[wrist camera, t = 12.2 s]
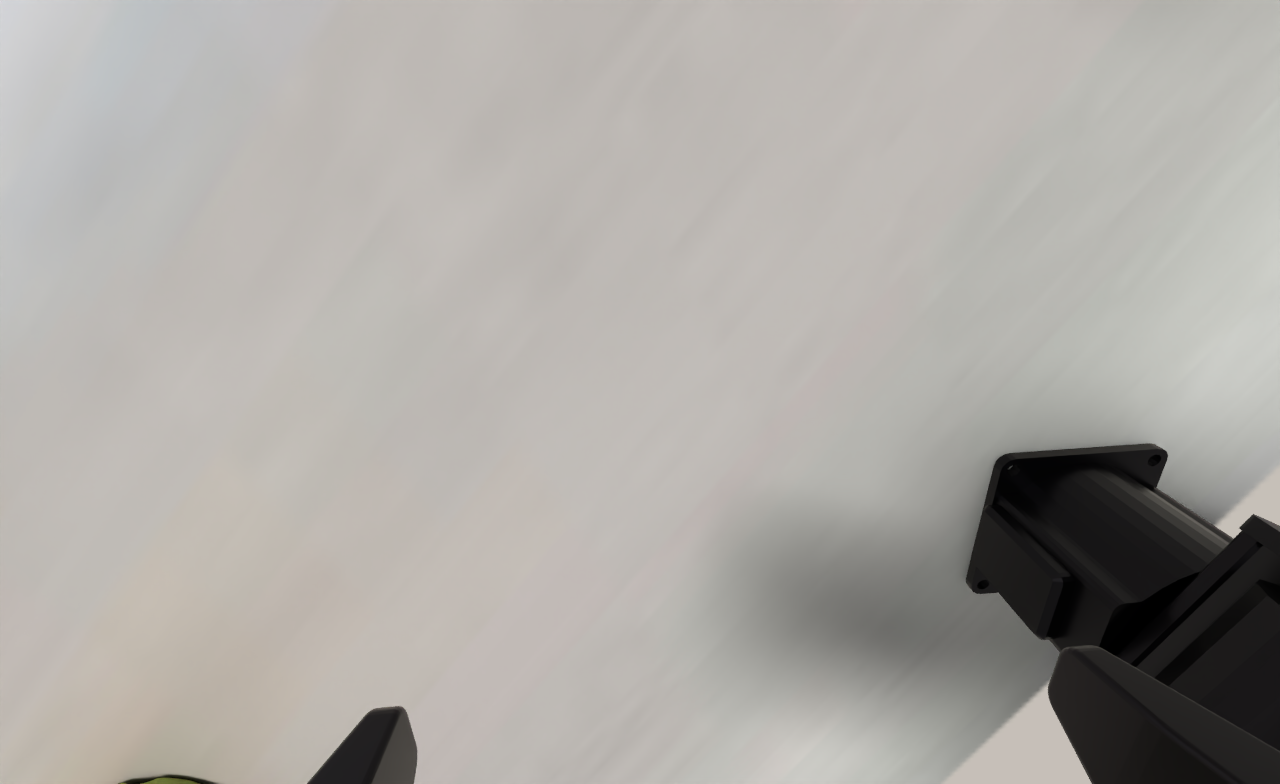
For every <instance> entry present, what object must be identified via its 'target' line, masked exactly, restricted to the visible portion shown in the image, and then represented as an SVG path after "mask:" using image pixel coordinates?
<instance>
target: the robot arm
mask: <svg viewBox="0 0 1280 784" xmlns="http://www.w3.org/2000/svg"><path fill="white" fill-rule="evenodd" d="M1167 457H1168V454H1167V452H1166V451H1165V450H1163V449H1162V448H1160V447H1158V446H1156V445H1155V444H1138V445H1123V446H1109V447H1095V448H1080V449H1066V450H1052V451H1037V452H1023V453H1009V454H1005V455H1003V456H1001V457H1000V458H999V459H998V460H997V461H996V463H995V465H994V468H993V472H992V476H991V480H990V484H989V488H988V492H987V496H986V500H985V504H984V508H983V512H982V516H981V520H980V524H979V528H978V532H977V536H976V540H975V544H974V548H973V552H972V556H971V561H970V565H969V569H968V573H967V577H966V583H967V585H968V586H969V587H970V588H971V590H972V591H973V592H975V593H977V594H985V593H997V592H999V594H1000V595H1001V596H1002V597H1003V598H1004V599H1005V601H1006V602H1007V603H1008V604H1009V605H1010V607H1011V608H1012V609H1013V610H1014V611H1015V612H1016V614H1017V615H1018V616H1019V617H1020V618H1021V619H1022V621H1023V622H1024V623H1025V624H1026V625H1027V626H1028V628H1029V629H1030V630H1031V631H1032V632H1033V633H1034V634H1035V635H1036V636H1037V637H1038V638H1039V639H1041V640H1046V639H1049V640H1050V641H1051V642H1052V643H1053V644H1054V646H1055V647H1056V648H1057V649H1058V650H1059V651H1060V652H1061V653H1060V654H1059V657H1058V660H1057V663H1056V666H1055V668H1054V671H1053V674H1052V677H1051V680H1050V683H1049V686H1048V695H1049V699H1050V703H1051V705H1052V707H1053V710H1054V711H1055V713H1056V715H1057V717H1058V719H1059V721H1060V723H1061V725H1062V726H1063V729H1064V731H1065V733H1066V734H1067V736H1068V738H1069V740H1070V742H1071V744H1072V746H1073V748H1074V749H1075V752H1076V754H1077V755H1078V758H1079V759H1080V761H1081V763H1082V765H1083V767H1084V769H1085V771H1086V773H1087V775H1088V777H1089V779H1090V781H1091V782H1092V784H1280V526H1279V525H1276V524H1274V523H1272V522H1270V521H1268V520H1265V519H1263V518H1261V517H1259V516H1257V515H1254V514H1253V515H1252V516H1251V517H1250V518H1249V519H1248V520H1247V521H1246V522H1245V523H1244V524H1243V525H1242V526H1241V527H1240V529H1241V530H1242V531H1241V532H1240V533H1239V534H1238V535H1237V536H1236V537H1235V538H1234V539H1233V538H1232V537H1230V536H1229V535H1227V534H1226V533H1224V532H1223V531H1221V530H1219V529H1218V528H1216V527H1215V526H1213V525H1212V524H1210V523H1209V522H1207V521H1206V520H1204V519H1203V518H1201V517H1200V516H1198V515H1197V514H1195V513H1194V512H1192V511H1191V510H1189V509H1187V508H1186V507H1184V506H1183V505H1181V504H1180V503H1178V502H1177V501H1175V500H1174V499H1172V498H1171V497H1169V496H1168V495H1166V494H1165V493H1163V492H1162V491H1160V490H1159V489H1157V488H1156V487H1157V484H1158V482H1159V479H1160V476H1161V474H1162V471H1163V469H1164V466H1165V464H1166V461H1167ZM1012 465H1013V466H1012ZM1010 466H1012V468H1010V469H1009V470H1008V468H1009V467H1010ZM416 766H417V746H416V742H415V739H414V735H413V732H412V729H411V725H410V722H409V718H408V715H407V712H406V710H405V709H404V708H403V707H401V706H395V707H384V708H376V709H373V710H371V711H370V712H368V713H367V714H366V715H365V716H364V718H363V719H362V720H361V721H360V722H359V723H358V725H357V726H356V727H355V728H354V729H353V730H352V732H351V733H350V734H349V735H348V736H347V737H346V739H345V740H344V741H343V742H342V743H341V744H340V746H339V747H338V748H337V749H336V750H335V751H334V753H333V754H332V755H331V756H330V757H329V759H328V760H327V761H326V762H325V763H324V764H323V766H322V767H321V768H320V769H319V770H318V771H317V773H316V774H315V775H314V776H313V777H312V778H311V780H310V781H309V782H308V783H307V784H414V779H415V773H416Z"/></svg>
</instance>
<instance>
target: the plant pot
mask: <svg viewBox="0 0 1280 784" xmlns="http://www.w3.org/2000/svg"><path fill="white" fill-rule="evenodd" d="M120 784H126V783H120ZM142 784H199V783H196V782H194V781H190V780H185V779H176V778H157V779H154V780H152V781H149V782H146V783H142Z"/></svg>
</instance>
